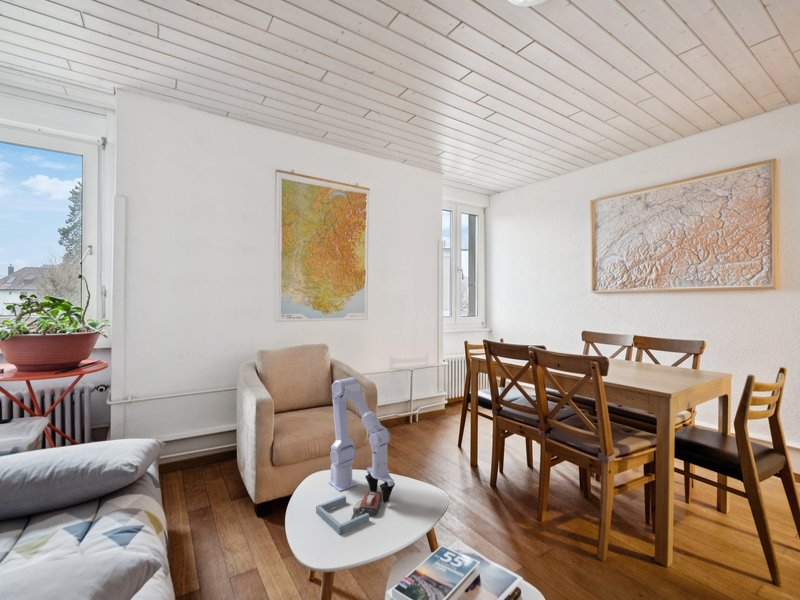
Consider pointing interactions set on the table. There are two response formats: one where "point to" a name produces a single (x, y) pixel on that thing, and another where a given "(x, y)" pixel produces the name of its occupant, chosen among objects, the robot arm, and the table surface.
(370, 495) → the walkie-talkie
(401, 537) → the table surface
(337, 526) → the grey pronged cradle
